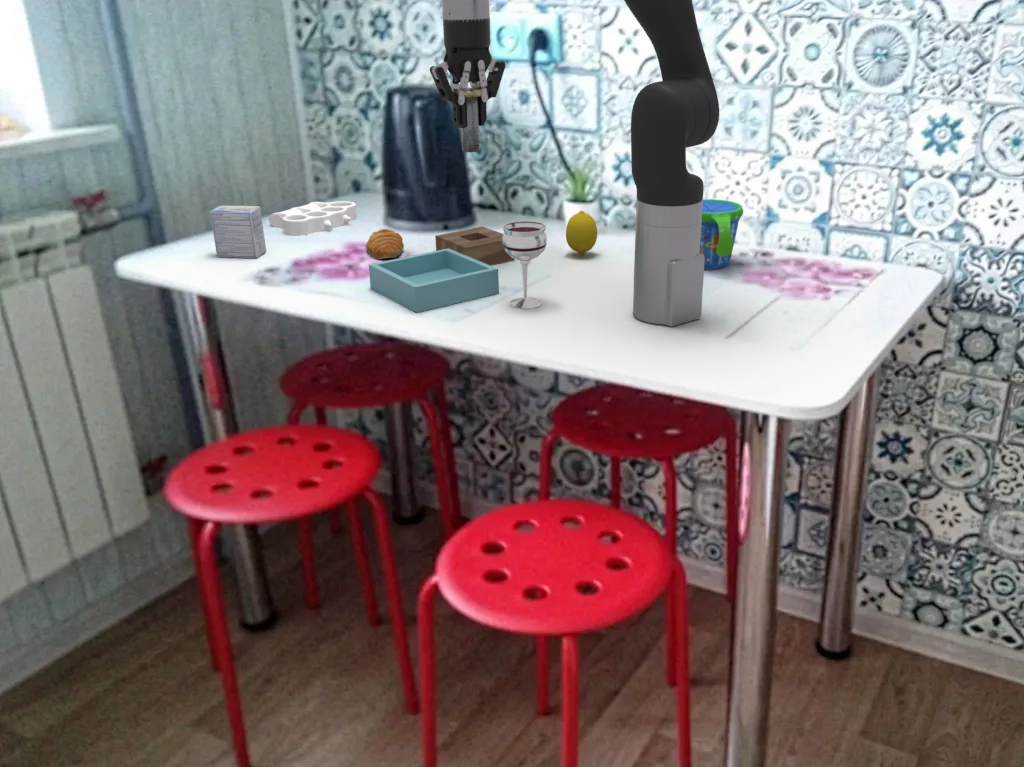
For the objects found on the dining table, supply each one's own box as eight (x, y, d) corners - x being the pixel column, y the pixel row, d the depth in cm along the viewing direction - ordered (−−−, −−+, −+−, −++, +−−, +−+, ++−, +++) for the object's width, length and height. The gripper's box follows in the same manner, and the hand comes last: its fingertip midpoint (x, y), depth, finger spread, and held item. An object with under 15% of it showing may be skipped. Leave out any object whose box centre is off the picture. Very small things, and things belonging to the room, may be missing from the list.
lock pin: (489, 150, 163) (487, 89, 159) (467, 154, 161) (464, 91, 156) (475, 147, 166) (472, 86, 162) (453, 150, 164) (450, 89, 160)
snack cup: (667, 252, 172) (669, 196, 168) (725, 250, 173) (729, 194, 169) (686, 279, 158) (689, 218, 154) (749, 277, 158) (754, 215, 154)
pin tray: (499, 293, 153) (498, 268, 152) (416, 312, 146) (415, 287, 144) (449, 271, 165) (448, 248, 163) (370, 288, 157) (368, 264, 155)
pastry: (407, 260, 172) (405, 239, 170) (369, 263, 171) (367, 242, 169) (402, 246, 180) (400, 226, 179) (365, 249, 179) (364, 229, 178)
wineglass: (550, 297, 151) (550, 221, 146) (543, 311, 145) (542, 233, 140) (508, 295, 152) (506, 220, 148) (499, 309, 146) (497, 231, 141)
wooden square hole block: (514, 259, 170) (514, 237, 168) (466, 270, 165) (465, 247, 163) (483, 247, 178) (482, 226, 176) (436, 257, 172) (435, 235, 171)
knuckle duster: (321, 212, 207) (372, 220, 199) (257, 231, 193) (310, 241, 186) (319, 196, 206) (371, 204, 198) (255, 214, 192) (308, 224, 185)
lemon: (585, 261, 168) (586, 216, 165) (559, 256, 171) (559, 212, 168) (602, 254, 172) (603, 209, 169) (577, 249, 175) (577, 205, 172)
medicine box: (267, 252, 178) (261, 205, 174) (257, 259, 174) (251, 211, 170) (227, 251, 179) (220, 204, 176) (216, 257, 175) (209, 210, 172)
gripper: (440, 19, 148) (446, 133, 155) (515, 14, 156) (517, 124, 163) (416, 17, 154) (422, 128, 161) (489, 13, 161) (492, 119, 168)
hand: (470, 125), depth 162 cm, fingers closed on lock pin, 3 cm apart
